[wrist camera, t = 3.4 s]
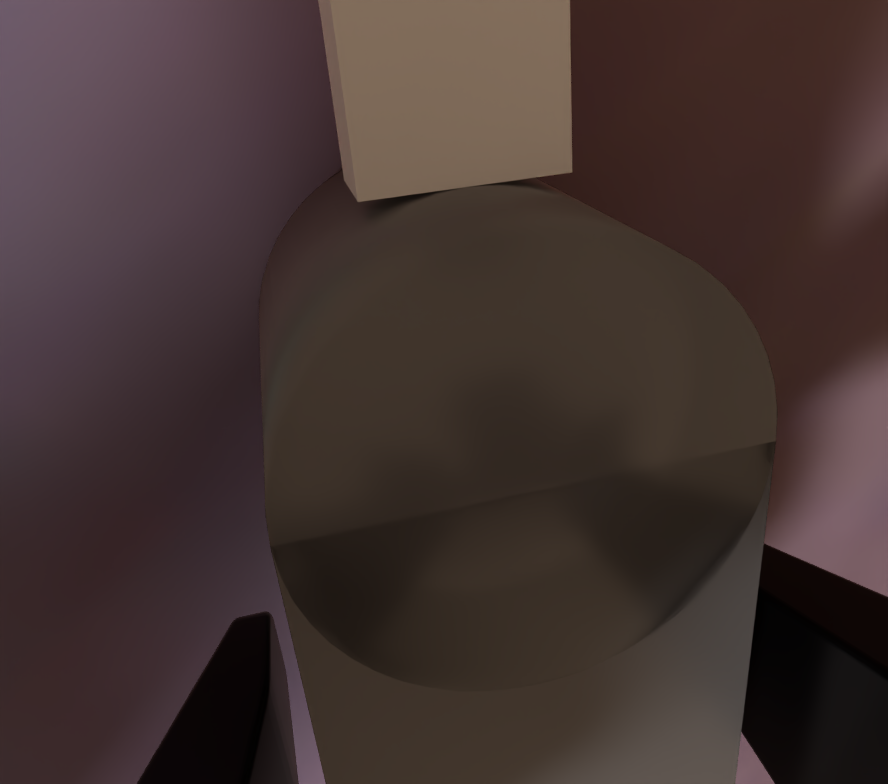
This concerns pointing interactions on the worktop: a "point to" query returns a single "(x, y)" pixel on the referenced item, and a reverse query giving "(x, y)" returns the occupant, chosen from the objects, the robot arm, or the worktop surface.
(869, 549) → the worktop surface
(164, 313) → the worktop surface
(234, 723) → the robot arm
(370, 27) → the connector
